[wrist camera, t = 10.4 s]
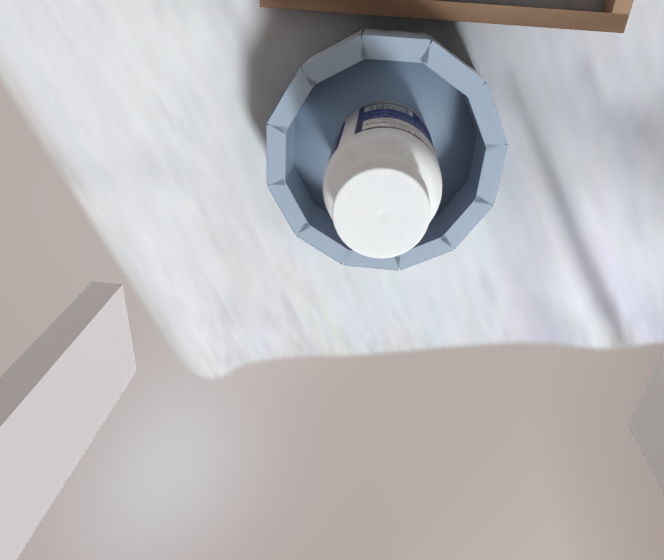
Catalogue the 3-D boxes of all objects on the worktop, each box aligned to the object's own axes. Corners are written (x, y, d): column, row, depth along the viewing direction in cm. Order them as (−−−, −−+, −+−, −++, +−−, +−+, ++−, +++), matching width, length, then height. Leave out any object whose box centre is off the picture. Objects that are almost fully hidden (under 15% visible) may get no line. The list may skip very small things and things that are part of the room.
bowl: (279, 22, 28) (266, 27, 24) (513, 38, 27) (529, 47, 24) (277, 232, 34) (266, 258, 30) (469, 249, 33) (477, 278, 30)
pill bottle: (376, 211, 32) (372, 296, 23) (315, 143, 30) (287, 208, 21) (451, 153, 29) (477, 223, 21) (390, 76, 28) (391, 119, 19)
